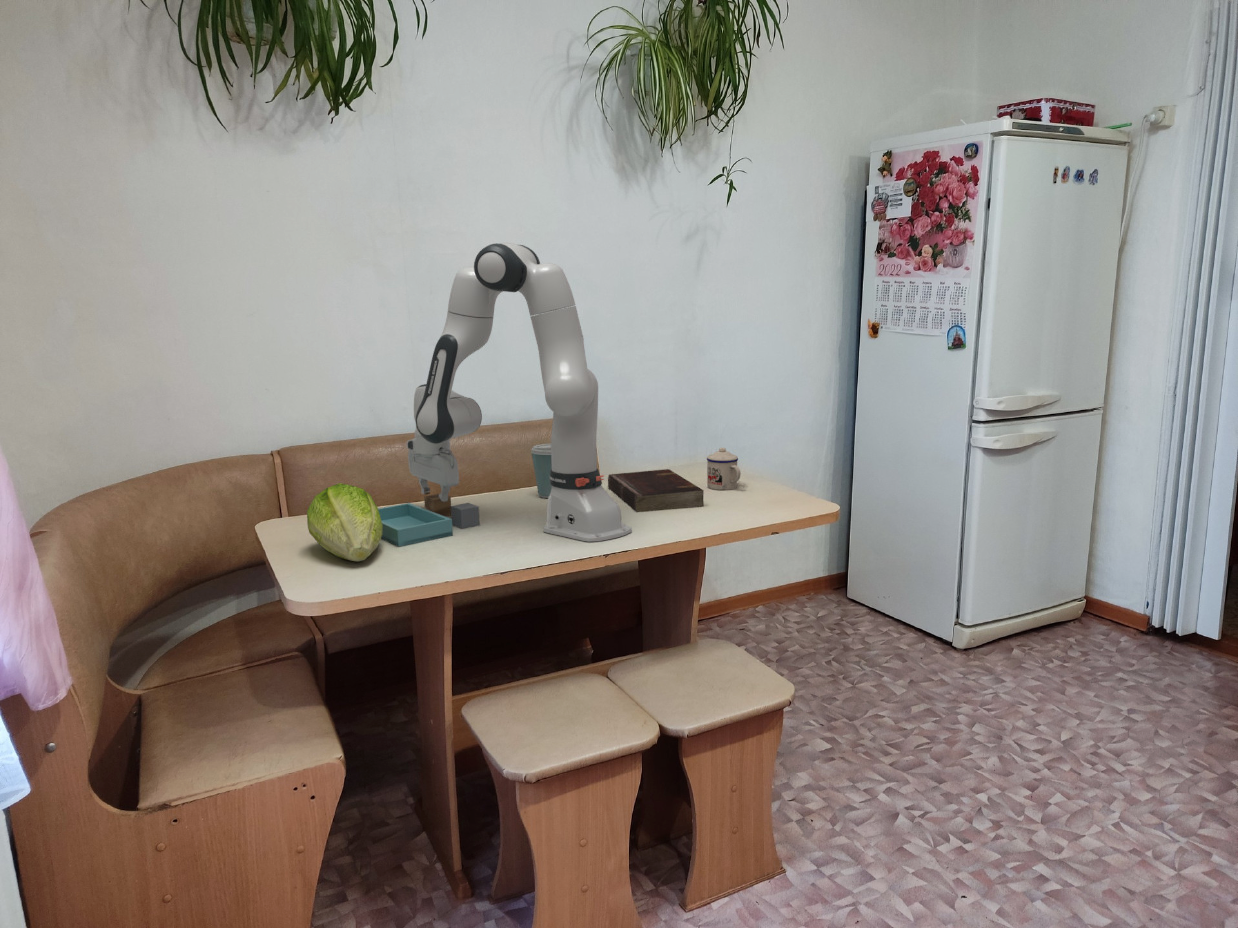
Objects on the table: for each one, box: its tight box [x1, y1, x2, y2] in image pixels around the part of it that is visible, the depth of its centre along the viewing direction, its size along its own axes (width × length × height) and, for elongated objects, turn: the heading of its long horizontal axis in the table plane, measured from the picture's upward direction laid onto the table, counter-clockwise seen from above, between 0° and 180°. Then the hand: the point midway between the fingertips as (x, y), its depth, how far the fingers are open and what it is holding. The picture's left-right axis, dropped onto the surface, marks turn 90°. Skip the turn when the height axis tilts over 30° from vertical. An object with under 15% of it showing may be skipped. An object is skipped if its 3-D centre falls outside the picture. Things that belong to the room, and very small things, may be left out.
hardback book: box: [607, 468, 705, 513], centre depth 243 cm, size 29×19×5 cm, turn 15°
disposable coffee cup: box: [530, 442, 552, 499], centre depth 245 cm, size 11×11×15 cm
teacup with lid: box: [706, 447, 741, 491], centre depth 252 cm, size 12×9×12 cm
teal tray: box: [378, 502, 454, 548], centre depth 211 cm, size 22×14×4 cm, turn 40°
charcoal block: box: [450, 502, 481, 530], centre depth 216 cm, size 5×5×5 cm
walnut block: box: [423, 493, 452, 517], centre depth 227 cm, size 5×5×5 cm
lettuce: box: [306, 482, 383, 562], centre depth 194 cm, size 15×24×16 cm
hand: (434, 497), depth 226 cm, fingers open, 8 cm apart
